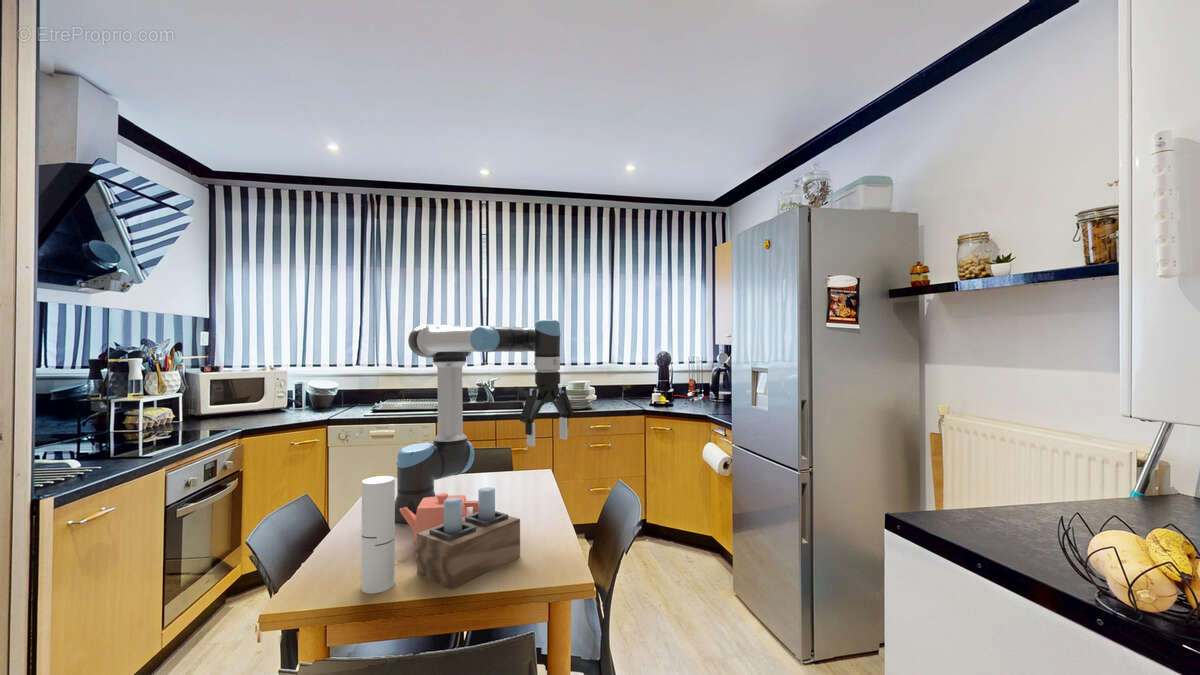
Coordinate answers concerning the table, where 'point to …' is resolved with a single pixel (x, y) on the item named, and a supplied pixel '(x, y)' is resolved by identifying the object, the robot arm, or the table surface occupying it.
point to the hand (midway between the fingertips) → (547, 442)
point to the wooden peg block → (467, 549)
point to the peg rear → (486, 504)
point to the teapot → (433, 512)
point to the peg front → (452, 515)
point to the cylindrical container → (378, 534)
